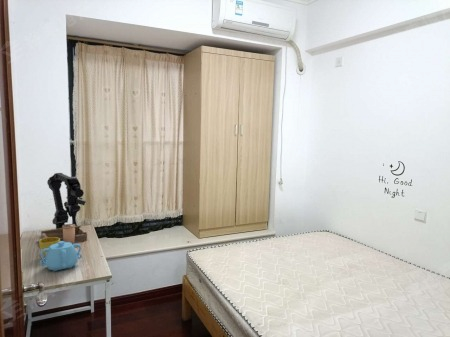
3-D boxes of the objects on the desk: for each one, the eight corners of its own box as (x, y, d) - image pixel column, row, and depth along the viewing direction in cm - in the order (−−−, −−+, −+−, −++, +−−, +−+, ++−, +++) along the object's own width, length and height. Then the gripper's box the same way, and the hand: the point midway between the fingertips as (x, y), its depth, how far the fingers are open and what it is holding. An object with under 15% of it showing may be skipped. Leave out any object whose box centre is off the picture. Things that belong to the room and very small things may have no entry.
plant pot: (53, 260, 172) (53, 243, 171) (35, 259, 172) (35, 242, 171) (64, 253, 182) (63, 237, 181) (46, 252, 183) (46, 236, 182)
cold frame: (41, 239, 204) (41, 231, 203) (80, 233, 219) (80, 225, 219) (46, 247, 191) (46, 237, 191) (87, 239, 207) (87, 231, 206)
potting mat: (59, 245, 195) (59, 244, 195) (76, 242, 202) (76, 241, 202) (62, 249, 188) (62, 249, 188) (80, 246, 194) (80, 246, 194)
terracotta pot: (61, 244, 196) (61, 224, 195) (73, 242, 201) (73, 223, 200) (64, 247, 191) (63, 227, 190) (76, 245, 195) (76, 225, 194)
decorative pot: (62, 275, 154) (61, 249, 153) (36, 270, 158) (35, 244, 157) (85, 263, 170) (85, 239, 168) (61, 259, 174) (60, 235, 173)
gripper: (88, 196, 208) (88, 219, 209) (80, 192, 222) (81, 213, 223) (70, 198, 200) (70, 221, 202) (63, 193, 215) (64, 215, 216)
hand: (72, 218), depth 211 cm, fingers open, 9 cm apart
